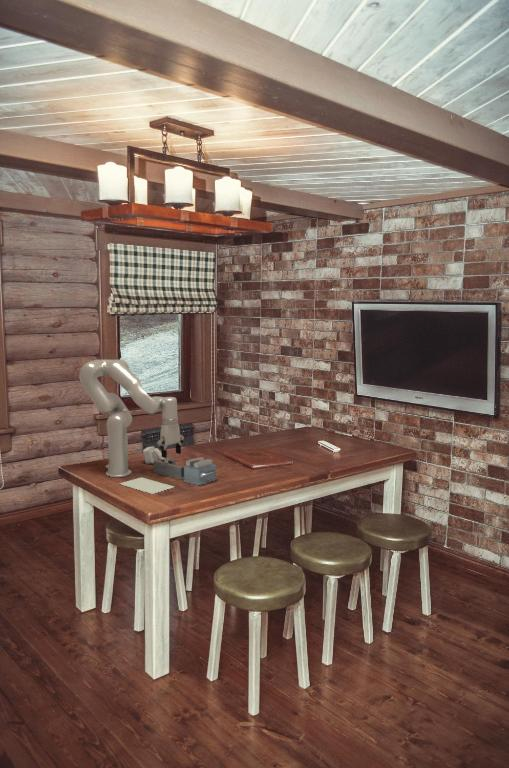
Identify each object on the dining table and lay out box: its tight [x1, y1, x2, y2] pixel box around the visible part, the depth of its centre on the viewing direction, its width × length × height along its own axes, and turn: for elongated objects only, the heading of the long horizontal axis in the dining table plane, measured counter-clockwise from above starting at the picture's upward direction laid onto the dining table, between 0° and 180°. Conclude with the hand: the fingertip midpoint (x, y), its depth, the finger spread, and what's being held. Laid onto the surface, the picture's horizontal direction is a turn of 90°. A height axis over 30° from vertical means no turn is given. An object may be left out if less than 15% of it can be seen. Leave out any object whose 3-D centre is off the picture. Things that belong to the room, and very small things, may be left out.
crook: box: [152, 458, 184, 480], centre depth 301 cm, size 20×9×6 cm, turn 51°
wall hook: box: [142, 445, 164, 465], centre depth 322 cm, size 8×10×10 cm
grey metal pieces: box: [164, 456, 219, 486], centre depth 295 cm, size 32×12×10 cm, turn 51°
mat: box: [118, 477, 175, 495], centre depth 281 cm, size 24×14×1 cm, turn 51°
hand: (171, 455), depth 297 cm, fingers open, 9 cm apart
